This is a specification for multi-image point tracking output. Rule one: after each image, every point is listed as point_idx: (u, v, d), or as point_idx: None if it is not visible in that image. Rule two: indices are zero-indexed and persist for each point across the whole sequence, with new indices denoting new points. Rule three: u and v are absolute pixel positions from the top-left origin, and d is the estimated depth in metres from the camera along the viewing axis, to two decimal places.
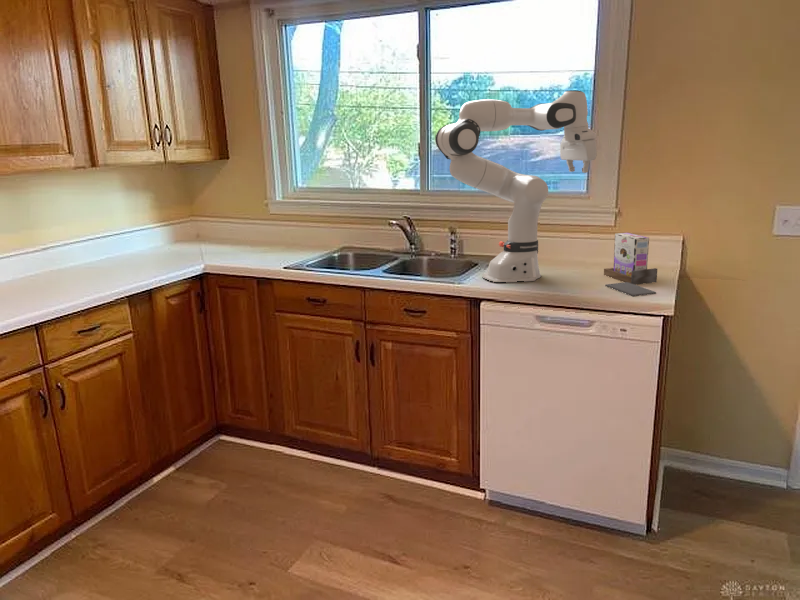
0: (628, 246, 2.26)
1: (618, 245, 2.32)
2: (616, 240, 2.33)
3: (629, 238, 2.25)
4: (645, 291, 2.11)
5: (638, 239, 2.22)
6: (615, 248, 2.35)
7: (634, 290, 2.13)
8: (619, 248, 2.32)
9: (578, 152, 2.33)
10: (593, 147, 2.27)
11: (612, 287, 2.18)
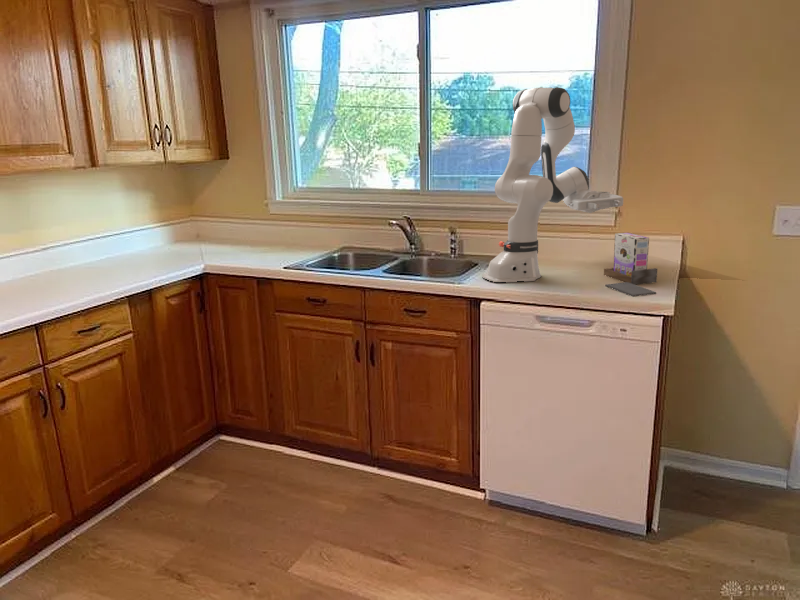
0: (628, 246, 2.26)
1: (618, 245, 2.32)
2: (616, 240, 2.33)
3: (629, 238, 2.25)
4: (645, 291, 2.11)
5: (638, 239, 2.22)
6: (615, 248, 2.35)
7: (634, 290, 2.13)
8: (619, 248, 2.32)
9: (605, 197, 2.48)
10: None
11: (612, 287, 2.18)
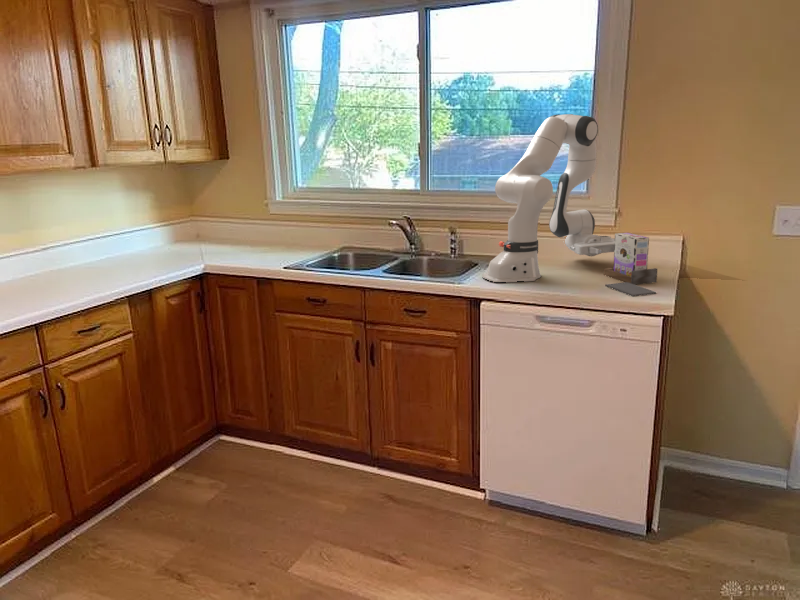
0: (628, 246, 2.26)
1: (618, 245, 2.32)
2: (616, 240, 2.33)
3: (629, 238, 2.25)
4: (645, 291, 2.11)
5: (638, 239, 2.22)
6: (615, 248, 2.35)
7: (634, 290, 2.13)
8: (619, 248, 2.32)
9: (607, 242, 2.50)
10: None
11: (612, 287, 2.18)
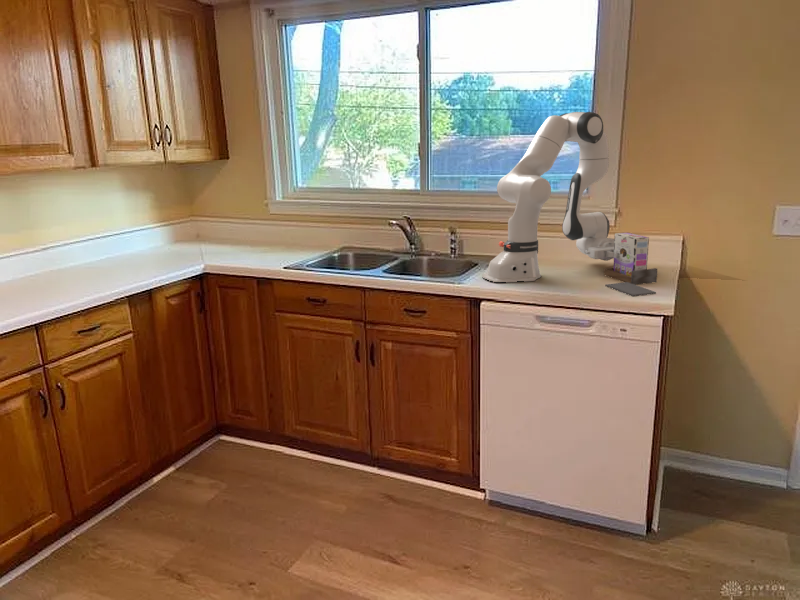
0: (628, 246, 2.26)
1: (618, 245, 2.32)
2: (616, 240, 2.33)
3: (629, 238, 2.25)
4: (645, 291, 2.11)
5: (638, 239, 2.22)
6: (615, 248, 2.35)
7: (634, 290, 2.13)
8: (619, 248, 2.32)
9: None
10: None
11: (612, 287, 2.18)
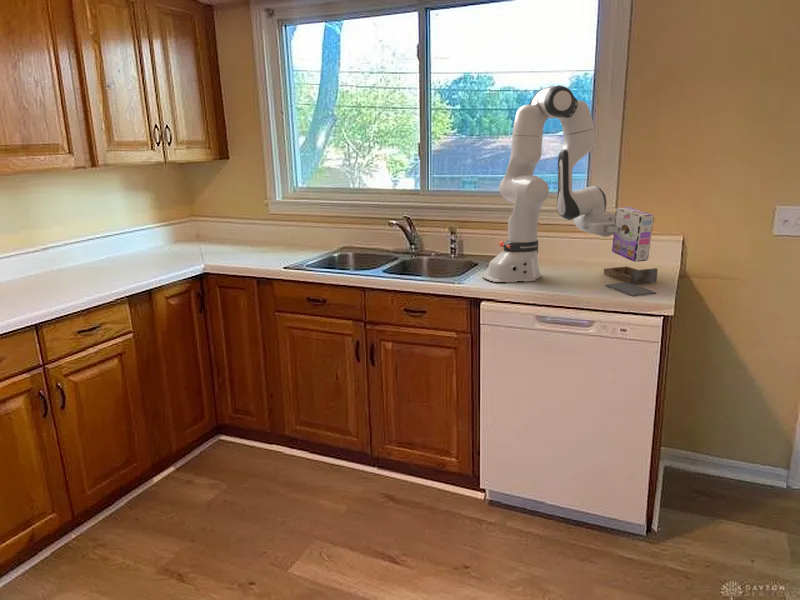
0: (632, 223, 2.13)
1: (620, 221, 2.20)
2: (617, 215, 2.21)
3: (633, 215, 2.12)
4: (645, 291, 2.11)
5: (643, 217, 2.09)
6: (616, 223, 2.22)
7: (634, 290, 2.13)
8: (621, 224, 2.19)
9: None
10: None
11: (612, 287, 2.18)
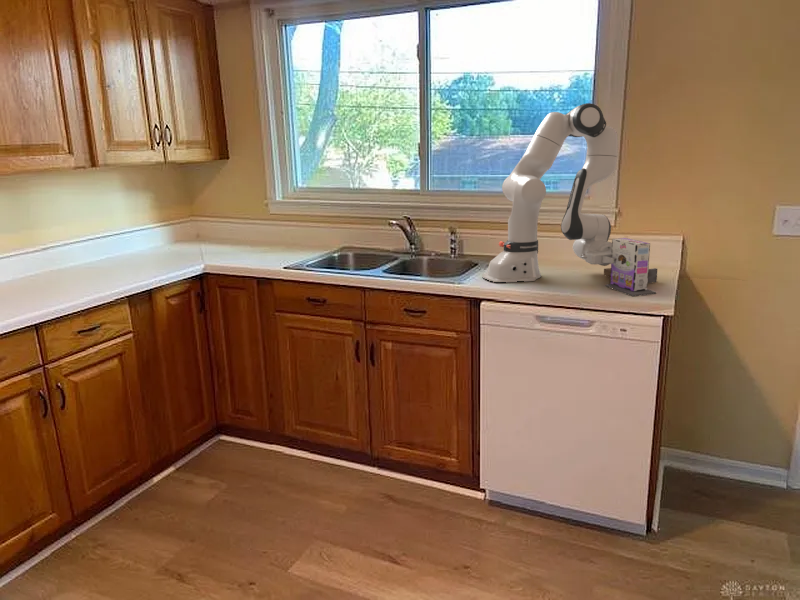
0: (628, 253, 2.11)
1: (616, 251, 2.17)
2: (613, 246, 2.19)
3: (629, 244, 2.10)
4: (645, 291, 2.11)
5: (639, 245, 2.07)
6: (612, 254, 2.20)
7: None
8: (617, 255, 2.17)
9: None
10: None
11: (612, 287, 2.18)
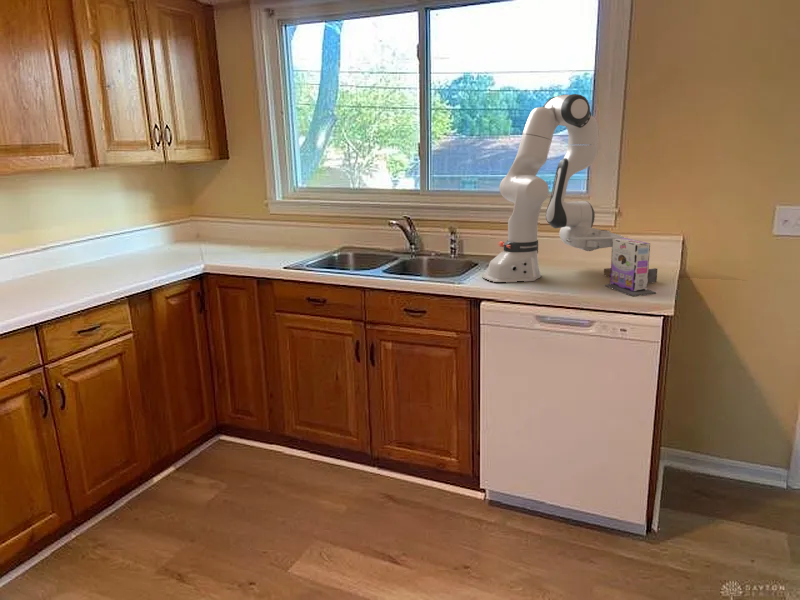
0: (628, 253, 2.11)
1: (616, 251, 2.17)
2: (613, 246, 2.19)
3: (629, 244, 2.10)
4: (645, 291, 2.11)
5: (639, 245, 2.07)
6: (612, 254, 2.20)
7: None
8: (617, 255, 2.17)
9: (606, 236, 2.31)
10: None
11: (612, 287, 2.18)
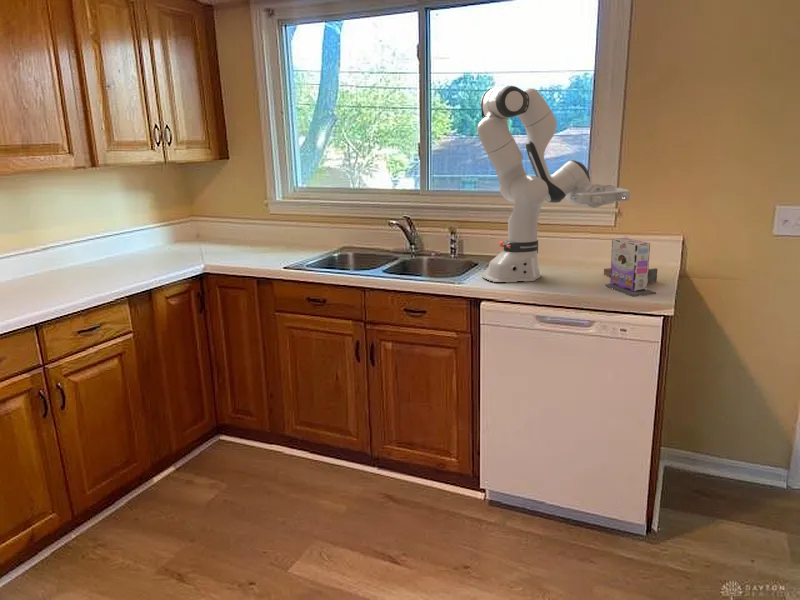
0: (628, 253, 2.11)
1: (616, 251, 2.17)
2: (613, 246, 2.19)
3: (629, 244, 2.10)
4: (645, 291, 2.11)
5: (639, 245, 2.07)
6: (612, 254, 2.20)
7: None
8: (617, 255, 2.17)
9: (611, 191, 2.27)
10: None
11: (612, 287, 2.18)
